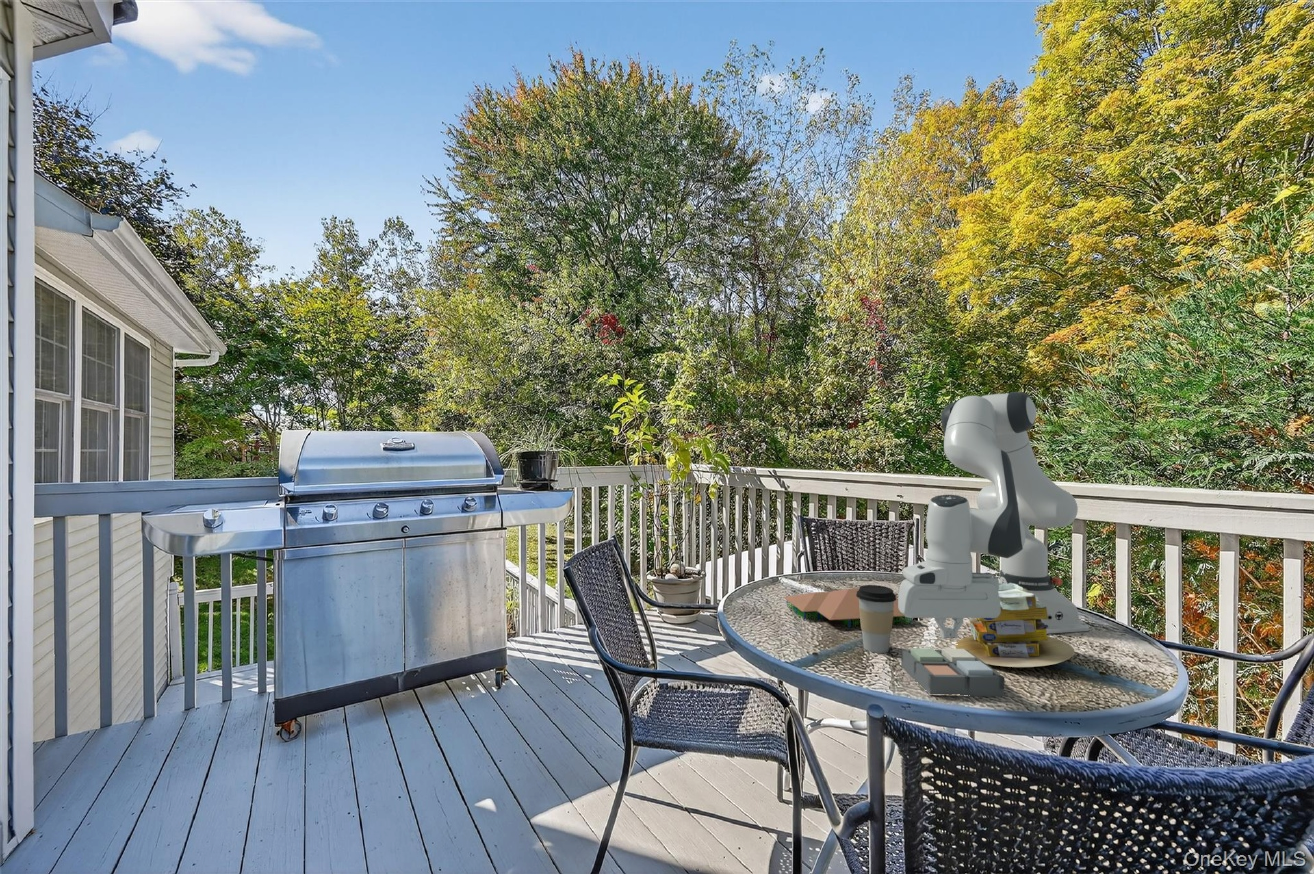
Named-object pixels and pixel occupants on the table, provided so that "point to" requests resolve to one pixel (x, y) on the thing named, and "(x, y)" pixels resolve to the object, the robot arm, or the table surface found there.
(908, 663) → the keypad
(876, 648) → the coffee cup
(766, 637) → the table surface
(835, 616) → the house
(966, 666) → the key bluegrey
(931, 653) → the key sage
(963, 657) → the key cream
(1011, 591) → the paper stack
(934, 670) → the key terracotta
